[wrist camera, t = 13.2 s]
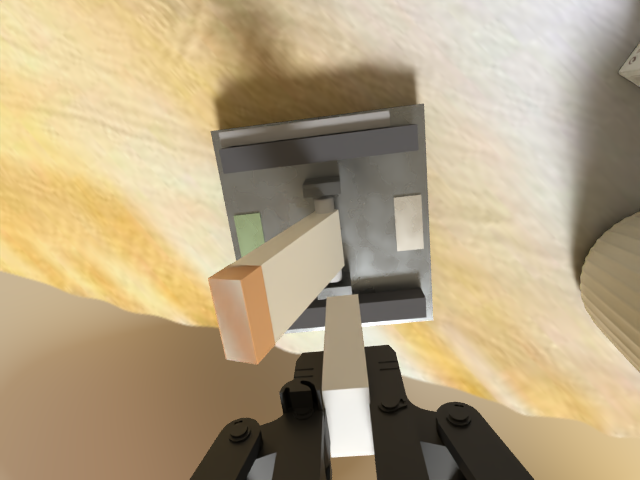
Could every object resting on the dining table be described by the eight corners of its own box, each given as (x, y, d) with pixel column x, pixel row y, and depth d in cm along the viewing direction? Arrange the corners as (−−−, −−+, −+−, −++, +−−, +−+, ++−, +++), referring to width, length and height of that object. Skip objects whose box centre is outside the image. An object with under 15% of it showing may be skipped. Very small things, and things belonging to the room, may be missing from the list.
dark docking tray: (222, 132, 33) (215, 132, 31) (411, 107, 32) (416, 106, 30) (258, 322, 38) (254, 332, 37) (421, 307, 37) (426, 317, 35)
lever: (315, 196, 33) (203, 258, 20) (338, 195, 32) (236, 260, 19) (325, 274, 35) (229, 376, 22) (347, 275, 34) (260, 381, 21)
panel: (220, 130, 36) (196, 132, 30) (416, 104, 35) (434, 101, 28) (257, 321, 42) (243, 356, 36) (426, 305, 41) (442, 339, 34)
